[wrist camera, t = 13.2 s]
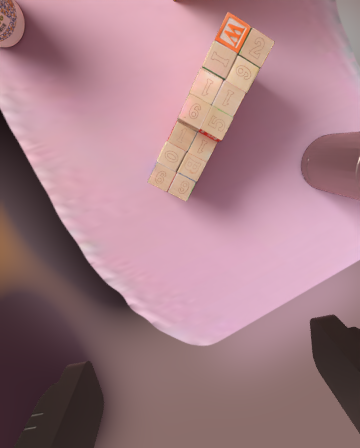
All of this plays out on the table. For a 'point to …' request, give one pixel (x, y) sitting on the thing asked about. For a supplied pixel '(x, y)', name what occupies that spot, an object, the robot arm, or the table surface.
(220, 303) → the table surface
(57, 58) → the table surface
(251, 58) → the stack of blocks
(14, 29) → the bath foam
